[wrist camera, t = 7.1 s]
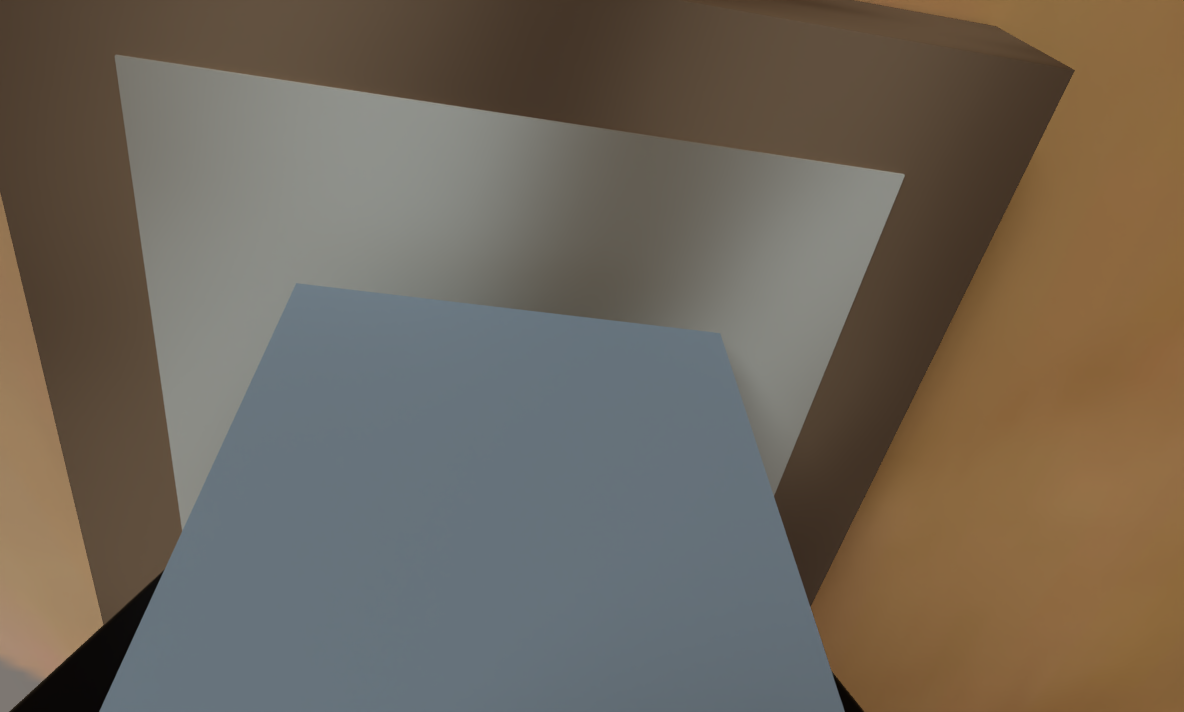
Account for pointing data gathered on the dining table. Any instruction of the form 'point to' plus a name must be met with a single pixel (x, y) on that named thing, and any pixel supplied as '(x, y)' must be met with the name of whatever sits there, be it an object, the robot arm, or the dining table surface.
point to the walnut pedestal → (498, 207)
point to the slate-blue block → (480, 527)
